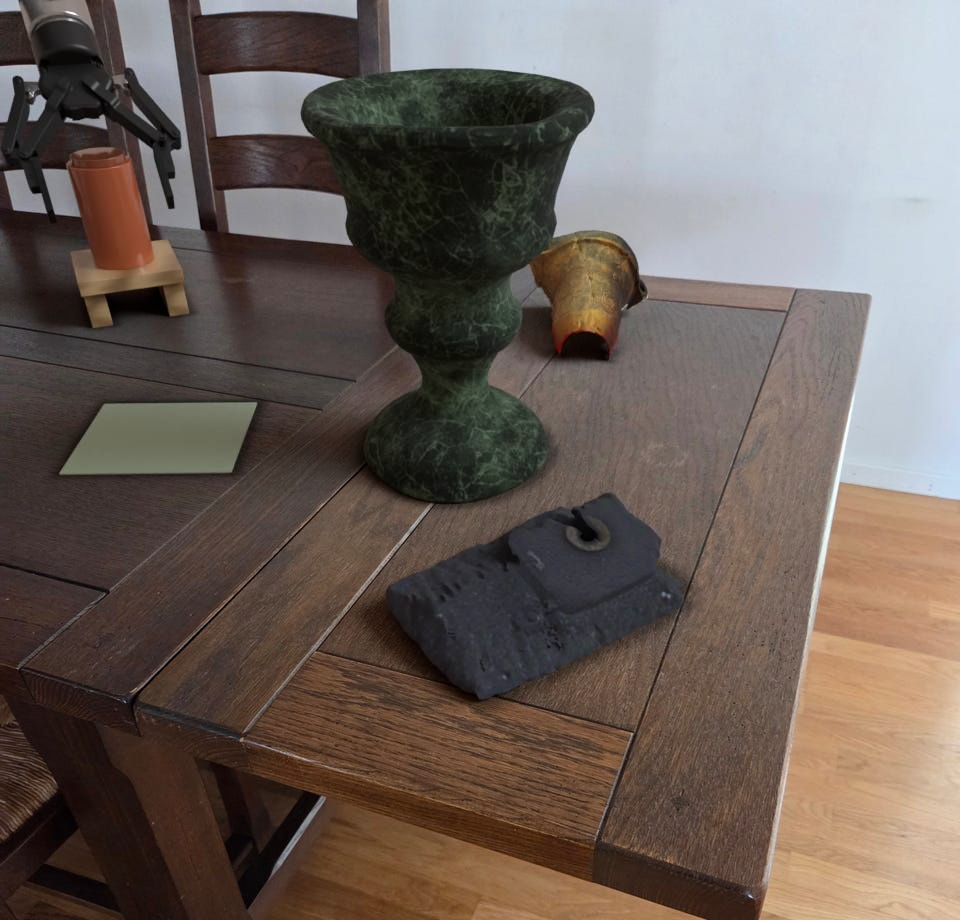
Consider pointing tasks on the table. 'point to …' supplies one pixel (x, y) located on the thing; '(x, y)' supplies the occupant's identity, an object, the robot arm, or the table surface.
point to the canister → (110, 208)
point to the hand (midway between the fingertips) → (112, 210)
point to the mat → (162, 439)
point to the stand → (130, 282)
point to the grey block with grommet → (536, 596)
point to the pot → (588, 283)
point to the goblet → (451, 253)
